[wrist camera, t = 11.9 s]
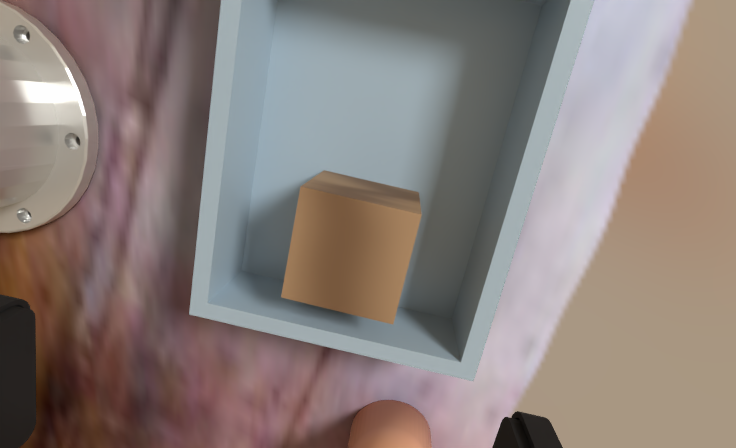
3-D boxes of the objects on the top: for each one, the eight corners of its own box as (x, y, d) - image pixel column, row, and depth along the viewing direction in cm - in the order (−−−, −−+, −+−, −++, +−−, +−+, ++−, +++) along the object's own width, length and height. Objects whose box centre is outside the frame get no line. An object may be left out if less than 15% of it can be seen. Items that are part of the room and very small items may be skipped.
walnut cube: (418, 192, 22) (421, 214, 17) (396, 280, 23) (393, 324, 18) (324, 170, 22) (300, 186, 17) (307, 259, 23) (280, 297, 18)
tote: (460, 328, 24) (473, 381, 20) (231, 275, 25) (189, 314, 20) (559, -6, 20) (608, -44, 15) (274, -64, 20) (233, -118, 15)
